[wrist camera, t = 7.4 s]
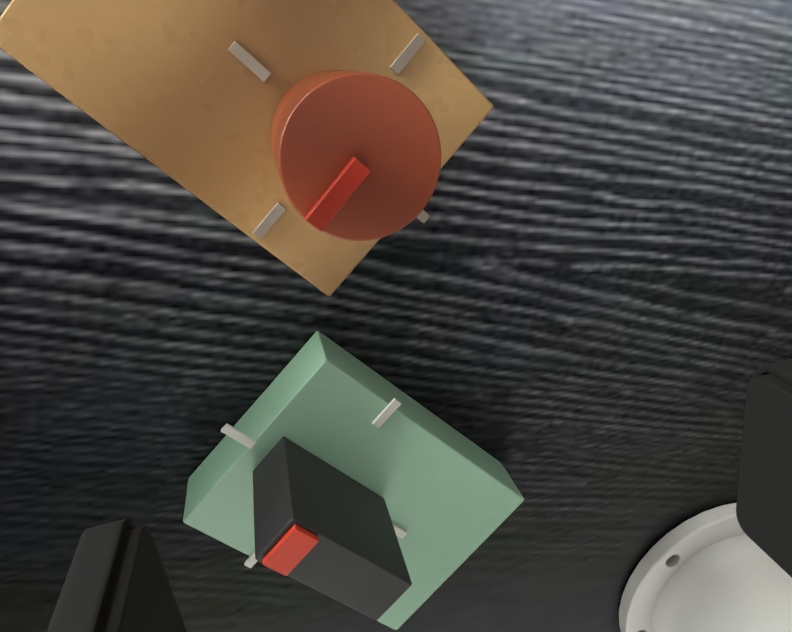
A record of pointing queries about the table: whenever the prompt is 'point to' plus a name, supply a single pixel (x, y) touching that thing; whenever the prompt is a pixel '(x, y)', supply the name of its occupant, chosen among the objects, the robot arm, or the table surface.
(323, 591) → the bar knob
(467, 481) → the toggle switch base
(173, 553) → the table surface
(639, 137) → the table surface
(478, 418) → the table surface
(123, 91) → the tan rotary knob base
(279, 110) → the round knob
